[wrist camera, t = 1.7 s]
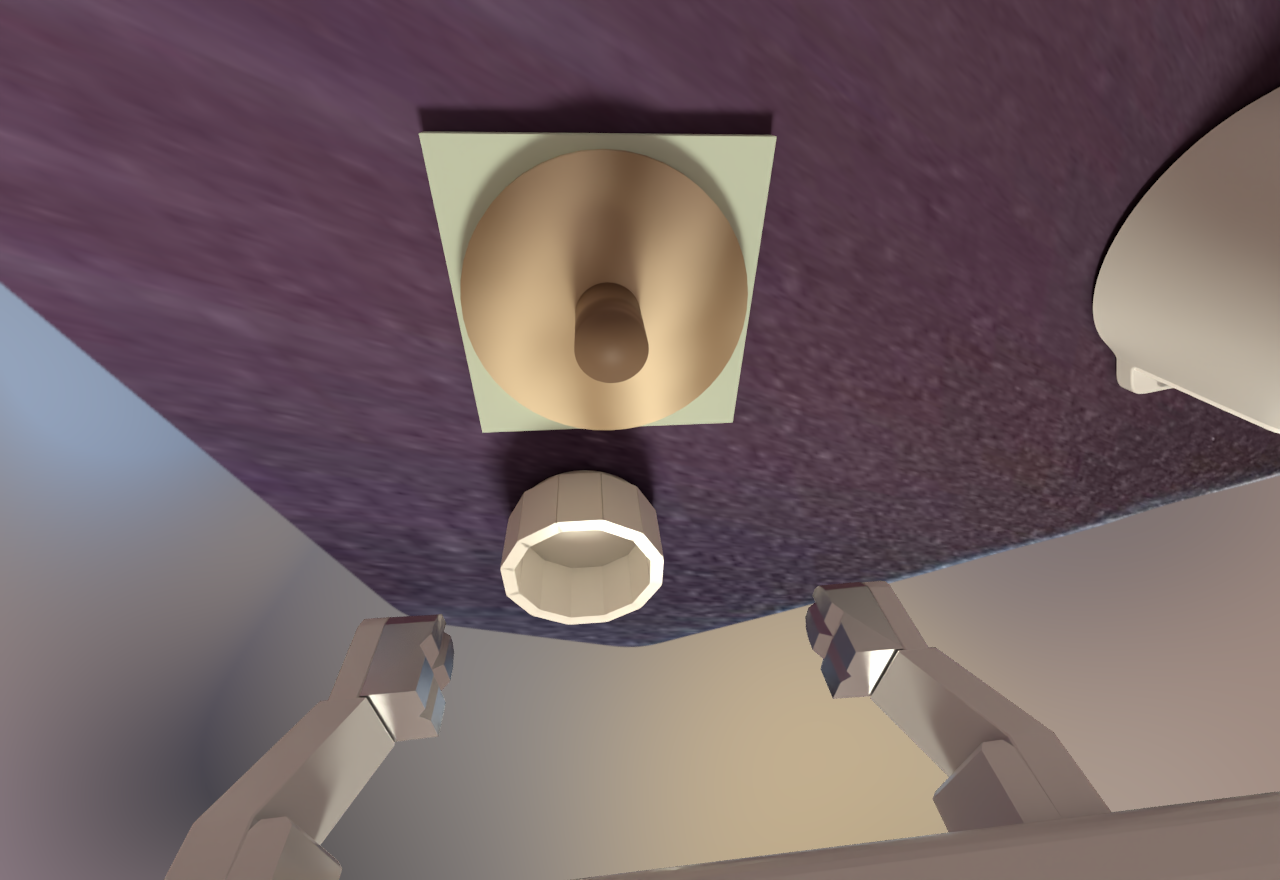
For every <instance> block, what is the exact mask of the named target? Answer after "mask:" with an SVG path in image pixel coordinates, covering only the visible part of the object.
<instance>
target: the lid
mask: <svg viewBox="0 0 1280 880" xmlns="http://www.w3.org/2000/svg"><path fill="white" fill-rule="evenodd" d="M460 300H461V307H462V314H463V320H464V323H465V327H466V330H467V334H468V337H469V339H470V341H471V344H472V346H473V349H474V351H475V353H476V355H477V356H478V358H479V360H480V361H481V363H482V365H483V366H484V368H485V369H486V370H487V372H488V373H489V374H490V376H491V377H492V378H493V379H494V381H495V382H496V383H497V384H498V385H499V386H500V387H501V388H502V389H503V390H504V391H505V392H506V393H507V394H508V395H510V396H511V397H512V398H513V399H515V400H516V401H517V402H518V403H520V404H521V405H523V406H525V407H526V408H528V409H529V410H531V411H533V412H534V413H536V414H539V415H541V416H543V417H545V418H547V419H549V420H552V421H555V422H558V423H561V424H564V425H568V426H572V427H576V428H582V429H590V430H619V429H628V428H633V427H638V426H643V425H646V424H649V423H652V422H655V421H658V420H660V419H662V418H665V417H667V416H669V415H671V414H673V413H675V412H677V411H678V410H680V409H682V408H684V407H685V406H687V405H688V404H689V403H691V402H692V401H693V400H695V399H696V398H697V397H699V396H700V395H701V394H702V393H703V392H704V391H705V390H706V389H707V388H708V387H709V386H710V385H711V384H712V383H713V382H714V381H715V379H716V378H717V377H718V376H719V375H720V374H721V372H722V371H723V369H724V368H725V366H726V365H727V363H728V362H729V360H730V358H731V356H732V354H733V352H734V350H735V348H736V346H737V344H738V341H739V338H740V335H741V333H742V330H743V326H744V321H745V316H746V312H747V300H748V284H747V273H746V267H745V262H744V257H743V254H742V251H741V248H740V245H739V242H738V239H737V237H736V235H735V233H734V231H733V229H732V227H731V225H730V223H729V222H728V220H727V219H726V217H725V216H724V214H723V213H722V212H721V210H720V209H719V207H718V206H717V205H716V204H715V202H714V201H713V200H712V199H711V198H710V197H709V196H708V195H707V194H706V193H705V192H704V191H703V190H702V189H701V188H700V187H699V186H698V185H697V184H695V183H694V182H693V181H692V180H690V179H689V178H688V177H687V176H685V175H684V174H683V173H681V172H679V171H678V170H676V169H674V168H673V167H671V166H669V165H667V164H666V163H664V162H661V161H658V160H656V159H653V158H651V157H648V156H646V155H642V154H638V153H634V152H629V151H625V150H613V149H592V150H580V151H576V152H572V153H567V154H563V155H559V156H557V157H554V158H552V159H549V160H547V161H544V162H542V163H540V164H538V165H536V166H534V167H533V168H531V169H529V170H528V171H526V172H524V173H522V174H521V175H520V176H519V177H517V178H516V179H515V180H514V181H513V182H511V183H510V184H509V185H508V186H506V187H505V189H504V190H503V191H502V192H501V193H500V194H499V195H498V196H497V197H496V198H495V199H494V201H493V202H492V203H491V204H490V206H489V207H488V209H487V210H486V212H485V213H484V215H483V216H482V218H481V219H480V221H479V222H478V224H477V226H476V228H475V230H474V232H473V234H472V237H471V239H470V241H469V244H468V247H467V250H466V254H465V257H464V260H463V266H462V273H461V280H460Z"/></svg>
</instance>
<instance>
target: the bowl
mask: <svg viewBox="0 0 1280 880" xmlns="http://www.w3.org/2000/svg"><path fill="white" fill-rule="evenodd" d="M663 560H664V558H663V552H662V546H661V540H660V534H659V528H658V522H657V516H656V511H655V509H654V508H653V506H652V505H651V504H650V503H649V501H648V500H647V499H646V497H645V496H644V495H643V494H642V492H641V491H640V490H639V488H638V487H636V486H635V485H632V484H630V483H628V482H627V481H625V480H624V479H622V478H619V477H617V476H615V475H612V474H609V473H605V472H600V471H591V470H578V471H570V472H565V473H561V474H557V475H554V476H552V477H550V478H547V479H545V480H544V481H542V482H540V483H539V484H537V485H536V486H535V487H533V488H531V489H529V490H527V491H525V493H524V494H523V495H522V497H521V499H520V500H519V502H518V504H517V505H516V507H515V509H514V510H513V512H512V514H511V515H510V517H509V520H508V526H507V532H506V538H505V544H504V550H503V556H502V562H501V568H500V569H501V574H502V578H503V582H504V586H505V591H506V595H507V596H508V597H509V598H510V599H512V600H513V601H514V602H515V603H517V604H518V605H519V606H520V607H522V608H523V609H524V610H526V611H527V612H528V613H529V614H531V615H533V616H536V617H540V618H544V619H548V620H552V621H556V622H560V623H564V624H569V625H571V624H584V623H598V622H607V621H610V620H613V619H615V618H618V617H620V616H622V615H625V614H627V613H630V612H632V611H634V610H637V609H639V608H640V607H642V606H643V605H644V604H645V603H646V602H647V601H648V600H649V598H650V597H651V596H652V595H653V594H654V593H655V592H656V591H657V590H658V589H659V588H660V587H661V585H662V575H663Z"/></svg>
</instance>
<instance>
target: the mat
mask: <svg viewBox="0 0 1280 880" xmlns="http://www.w3.org/2000/svg"><path fill="white" fill-rule="evenodd" d="M419 137H420V141H421V146H422V151H423V156H424V160H425V165H426V170H427V174H428V179H429V184H430V188H431V193H432V198H433V202H434V207H435V212H436V216H437V221H438V226H439V231H440V235H441V240H442V245H443V249H444V254H445V259H446V263H447V268H448V273H449V277H450V282H451V287H452V292H453V296H454V301H455V306H456V310H457V315H458V320H459V324H460V329H461V334H462V338H463V343H464V348H465V352H466V357H467V362H468V367H469V371H470V376H471V381H472V385H473V390H474V395H475V399H476V404H477V409H478V413H479V418H480V423H481V427H482V432H483V433H484V432H509V431H534V430H558V429H582V428H576V427H572V426H568V425H564V424H561V423H558V422H555V421H552V420H549V419H547V418H545V417H543V416H541V415H539V414H536V413H534V412H533V411H531V410H529V409H528V408H526V407H525V406H523V405H521V404H520V403H518V402H517V401H516V400H515V399H513V398H512V397H511V396H510V395H508V394H507V393H506V392H505V391H504V390H503V389H502V388H501V387H500V386H499V385H498V384H497V383H496V382H495V381H494V379H493V378H492V377H491V376H490V374H489V373H488V372H487V370H486V369H485V368H484V366H483V365H482V363H481V361H480V360H479V358H478V356H477V355H476V353H475V351H474V349H473V346H472V344H471V341H470V339H469V337H468V334H467V330H466V327H465V323H464V320H463V314H462V307H461V300H460V280H461V273H462V266H463V260H464V257H465V254H466V250H467V247H468V244H469V241H470V239H471V237H472V234H473V232H474V230H475V228H476V226H477V224H478V222H479V221H480V219H481V218H482V216H483V215H484V213H485V212H486V210H487V209H488V207H489V206H490V204H491V203H492V202H493V201H494V199H495V198H496V197H497V196H498V195H499V194H500V193H501V192H502V191H503V190H504V189H505V187H506V186H508V185H509V184H510V183H511V182H513V181H514V180H515V179H516V178H517V177H519V176H520V175H521V174H522V173H524V172H526V171H528V170H529V169H531V168H533V167H534V166H536V165H538V164H540V163H542V162H544V161H547V160H549V159H552V158H554V157H557V156H559V155H563V154H567V153H572V152H576V151H580V150H592V149H613V150H625V151H629V152H634V153H638V154H642V155H646V156H648V157H651V158H653V159H656V160H658V161H661V162H664V163H666V164H667V165H669V166H671V167H673V168H674V169H676V170H678V171H679V172H681V173H683V174H684V175H685V176H687V177H688V178H689V179H690V180H692V181H693V182H694V183H695V184H697V185H698V186H699V187H700V188H701V189H702V190H703V191H704V192H705V193H706V194H707V195H708V196H709V197H710V198H711V199H712V200H713V201H714V202H715V204H716V205H717V206H718V207H719V209H720V210H721V212H722V213H723V214H724V216H725V217H726V219H727V220H728V222H729V223H730V225H731V227H732V229H733V231H734V233H735V235H736V237H737V239H738V242H739V245H740V248H741V251H742V254H743V257H744V262H745V267H746V273H747V284H748V300H747V312H746V316H745V321H744V326H743V330H742V333H741V335H740V338H739V341H738V344H737V346H736V348H735V350H734V352H733V354H732V356H731V358H730V360H729V362H728V363H727V365H726V366H725V368H724V369H723V371H722V372H721V374H720V375H719V376H718V377H717V378H716V379H715V381H714V382H713V383H712V384H711V385H710V386H709V387H708V388H707V389H706V390H705V391H704V392H703V393H702V394H701V395H700V396H699V397H697V398H696V399H695V400H693V401H692V402H691V403H689V404H688V405H687V406H685V407H684V408H682V409H680V410H678V411H677V412H675V413H673V414H671V415H669V416H667V417H665V418H662V419H660V420H658V421H655V422H652V423H649V424H646V425H643V426H658V425H682V424H707V423H732V422H733V416H734V410H735V403H736V397H737V390H738V384H739V377H740V371H741V364H742V358H743V352H744V345H745V339H746V332H747V326H748V319H749V313H750V306H751V300H752V293H753V287H754V280H755V274H756V267H757V261H758V254H759V248H760V241H761V235H762V228H763V222H764V215H765V209H766V202H767V196H768V190H769V183H770V177H771V170H772V164H773V157H774V151H775V144H776V138H777V137H776V136H773V135H742V134H640V133H539V132H437V131H423V132H421V133H419Z"/></svg>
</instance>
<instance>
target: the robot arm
mask: <svg viewBox="0 0 1280 880" xmlns="http://www.w3.org/2000/svg"><path fill="white" fill-rule="evenodd" d="M1093 317H1094V322H1095V326H1096V329H1097V331H1098V333H1099V335H1100V337H1101V338H1102V340H1103V341H1104V342H1105V343H1106V344H1107V345H1108V346H1109V347H1110V348H1111V350H1112V351H1113V352H1114V354H1115V356H1116V358H1117V380H1118V383H1119V385H1120V386H1121V387H1123V388H1125V389H1127V390H1130V391H1132V392H1134V393H1137V394H1144V393H1150V392H1155V391H1160V390H1165V389H1170V388H1176V389H1178V390H1180V391H1182V392H1184V393H1187V394H1189V395H1191V396H1193V397H1195V398H1198V399H1200V400H1202V401H1204V402H1207V403H1209V404H1211V405H1213V406H1216V407H1218V408H1220V409H1222V410H1225V411H1227V412H1229V413H1231V414H1234V415H1236V416H1238V417H1240V418H1243V419H1245V420H1247V421H1249V422H1252V423H1254V424H1256V425H1258V426H1261V427H1263V428H1265V429H1268V430H1270V431H1273V432H1276V433H1279V434H1280V87H1279V88H1277V89H1275V90H1274V91H1272V92H1270V93H1268V94H1267V95H1265V96H1263V97H1261V98H1260V99H1258V100H1256V101H1254V102H1253V103H1251V104H1249V105H1247V106H1246V107H1244V108H1243V109H1241V110H1240V111H1238V112H1236V113H1235V114H1233V115H1232V116H1231V117H1229V118H1228V119H1226V120H1225V121H1223V122H1222V123H1221V124H1219V125H1218V126H1217V127H1215V128H1214V129H1213V130H1211V131H1210V132H1209V133H1207V134H1206V135H1205V136H1204V137H1202V138H1201V139H1200V140H1199V141H1198V142H1196V143H1195V144H1194V145H1193V146H1192V147H1191V148H1190V149H1188V150H1187V151H1186V152H1185V153H1184V154H1183V155H1182V156H1181V157H1180V158H1179V159H1178V160H1177V161H1176V162H1175V163H1173V164H1172V166H1171V167H1170V168H1169V169H1168V170H1167V171H1166V172H1165V173H1164V174H1163V175H1162V176H1161V177H1160V178H1159V179H1158V180H1157V181H1156V182H1155V184H1154V185H1153V186H1152V187H1151V188H1150V189H1149V191H1148V192H1147V193H1146V194H1145V195H1144V197H1143V198H1142V199H1141V200H1140V202H1139V203H1138V204H1137V206H1136V207H1135V208H1134V210H1133V211H1132V212H1131V214H1130V215H1129V217H1128V218H1127V220H1126V221H1125V223H1124V224H1123V226H1122V227H1121V229H1120V231H1119V232H1118V234H1117V236H1116V237H1115V239H1114V241H1113V243H1112V245H1111V247H1110V248H1109V251H1108V253H1107V255H1106V257H1105V259H1104V262H1103V264H1102V267H1101V269H1100V272H1099V275H1098V278H1097V282H1096V286H1095V291H1094V298H1093ZM813 597H814V600H815V603H814V604H813V605H811V606H810V607H809V608H808V611H807V614H806V631H807V635H808V638H809V642H810V644H811V647H812V649H813V650H814V651H815V652H816V653H817V654H818V655H820V656H821V657H822V658H823V662H822V665H821V671H822V674H823V676H824V678H825V681H826V683H827V686H828V688H829V690H830V693H831V695H832V698H833V699H834V698H849V697H864V696H871V699H872V700H873V702H874V703H875V704H876V705H877V706H879V707H880V709H882V711H883V712H885V713H886V715H888V716H889V717H890V719H891V720H892V721H893V722H895V723H896V725H898V726H899V728H900V729H901V730H903V731H904V733H906V735H908V737H910V738H911V740H912V741H913V742H915V743H916V745H918V747H919V748H921V750H922V751H923V752H925V753H926V755H928V756H929V758H931V759H932V761H934V763H935V764H937V765H938V767H939V768H941V770H942V771H944V773H945V774H947V776H949V778H948V779H947V780H946V781H945V782H944V783H943V784H942V785H941V786H940V787H939V788H938V789H937V790H936V792H935V794H934V797H933V801H934V803H935V805H936V807H937V809H938V811H939V813H940V815H941V817H942V819H943V821H944V824H945V825H946V827H947V830H948V832H949V833H941V834H934V835H925V836H917V837H910V838H901V839H893V840H885V841H877V842H869V843H862V844H854V845H845V846H837V847H829V848H821V849H813V850H805V851H797V852H789V853H781V854H773V855H765V856H757V857H749V858H741V859H732V860H724V861H716V862H709V863H700V864H692V865H685V866H676V867H669V868H660V869H653V870H645V871H636V872H628V873H620V874H613V875H604V876H597V877H588V878H580V879H572V880H1280V792H1270V793H1262V794H1254V795H1246V796H1238V797H1230V798H1222V799H1214V800H1206V801H1198V802H1191V803H1183V804H1174V805H1167V806H1158V807H1150V808H1142V809H1134V810H1126V811H1118V812H1111V811H1110V809H1109V808H1108V807H1107V805H1106V804H1105V802H1104V801H1103V800H1102V798H1101V797H1100V795H1099V794H1098V793H1097V791H1096V790H1095V789H1094V787H1093V786H1092V784H1091V783H1090V782H1089V780H1088V779H1087V777H1086V776H1085V775H1084V773H1083V772H1082V771H1081V769H1080V768H1079V767H1078V765H1077V764H1076V762H1075V761H1074V760H1073V758H1072V757H1071V755H1070V754H1069V753H1068V751H1067V750H1066V749H1065V747H1064V746H1063V744H1062V743H1061V742H1060V740H1059V739H1058V737H1057V736H1056V735H1055V733H1054V732H1052V731H1051V730H1050V729H1048V728H1047V727H1045V726H1044V725H1043V724H1041V723H1040V722H1039V721H1037V720H1036V719H1034V718H1033V717H1032V716H1030V715H1029V714H1027V713H1026V712H1025V711H1023V710H1022V709H1020V708H1019V707H1018V706H1016V705H1015V704H1014V703H1012V702H1011V701H1009V700H1008V699H1007V698H1005V697H1004V696H1002V695H1001V694H1000V693H998V692H997V691H995V690H994V689H993V688H991V687H990V686H988V685H987V684H986V683H984V682H982V680H980V679H979V678H977V677H976V676H975V675H973V674H972V673H970V672H969V671H968V670H966V669H965V668H963V667H962V666H960V665H959V664H958V663H957V662H955V661H954V660H952V659H951V658H949V657H948V656H947V655H945V654H944V653H943V652H941V651H940V650H938V649H937V648H936V647H928V645H927V644H926V642H925V641H924V639H923V637H922V636H921V634H920V633H919V631H918V629H917V628H916V626H915V625H914V623H913V622H912V620H911V618H910V617H909V615H908V614H907V612H906V610H905V609H904V607H903V605H902V604H901V602H900V601H899V599H898V597H897V596H896V594H895V593H894V591H893V589H892V588H891V586H890V585H889V584H888V583H887V582H885V581H873V582H862V583H861V582H854V583H843V584H832V585H822V586H818V587H817V588H816V589H815V591H814V594H813ZM445 625H446V623H445V620H444V618H443V616H442V614H438V615H422V616H406V617H386V618H373V619H364V620H363V621H362V623H361V624H360V625H359V626H358V628H357V630H356V632H355V635H354V637H353V640H352V642H351V645H350V647H349V650H348V652H347V655H346V657H345V659H344V662H343V664H342V667H341V669H340V672H339V675H338V677H337V679H336V682H335V684H334V687H333V689H332V692H331V694H330V697H329V699H328V700H325V701H320V702H319V703H318V704H317V705H316V706H314V707H313V708H312V709H311V710H310V711H309V712H308V713H307V714H306V715H305V716H304V717H303V718H302V719H301V720H300V721H299V722H298V723H297V724H296V725H295V726H294V727H293V728H292V729H291V730H290V731H289V732H287V733H286V734H285V736H283V738H281V739H280V740H279V741H278V742H277V743H276V744H275V745H274V746H273V747H272V748H271V749H270V750H269V751H268V752H267V753H266V754H265V755H264V756H263V757H262V758H261V759H260V760H259V761H258V762H257V763H256V764H254V765H253V766H252V767H251V768H250V769H249V770H248V771H247V772H246V773H245V774H244V775H243V776H242V777H241V778H240V779H239V780H238V781H237V782H236V783H235V784H234V785H233V786H232V787H231V788H229V790H227V791H226V792H225V793H224V794H223V795H222V796H221V797H220V798H219V799H218V800H217V801H216V802H215V803H214V804H213V805H212V806H211V807H210V808H209V809H208V810H207V811H206V812H205V813H204V814H203V815H201V816H200V817H199V818H198V819H197V820H196V821H195V822H194V823H193V825H192V827H191V829H190V831H189V833H188V835H187V836H186V839H185V840H184V842H183V844H182V846H181V848H180V850H179V852H178V854H177V856H176V857H175V860H174V861H173V863H172V865H171V867H170V869H169V871H168V873H167V875H166V877H165V879H164V880H339V878H340V874H341V871H342V868H341V866H340V864H339V862H338V860H336V859H335V858H334V857H333V856H332V855H331V854H330V853H328V852H327V851H326V850H325V849H324V848H323V847H321V846H320V845H321V843H322V842H323V841H324V839H325V838H326V837H327V835H328V834H329V833H330V831H331V830H332V828H333V827H334V826H335V824H336V823H337V822H338V820H339V819H340V818H341V816H342V815H343V814H344V812H345V811H346V810H347V808H348V807H349V806H350V804H351V803H352V802H353V800H354V799H355V798H356V796H357V795H358V794H359V792H360V791H361V790H362V788H363V787H364V786H365V784H366V783H367V781H368V780H369V779H370V778H371V776H372V775H373V773H374V772H375V771H376V769H377V768H378V767H379V765H380V764H381V763H382V761H383V760H384V759H385V757H386V756H387V755H388V753H389V752H390V750H391V749H392V748H393V747H394V745H395V743H394V742H397V741H405V740H413V739H421V738H429V737H438V736H439V731H440V727H441V722H442V718H443V713H444V708H445V704H446V702H445V700H444V697H443V695H442V692H441V691H442V690H443V689H444V687H445V686H446V685H447V684H448V683H449V682H450V680H451V675H452V670H453V660H454V649H453V642H452V639H451V636H450V635H448V634H446V633H445V632H444V629H445Z"/></svg>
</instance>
